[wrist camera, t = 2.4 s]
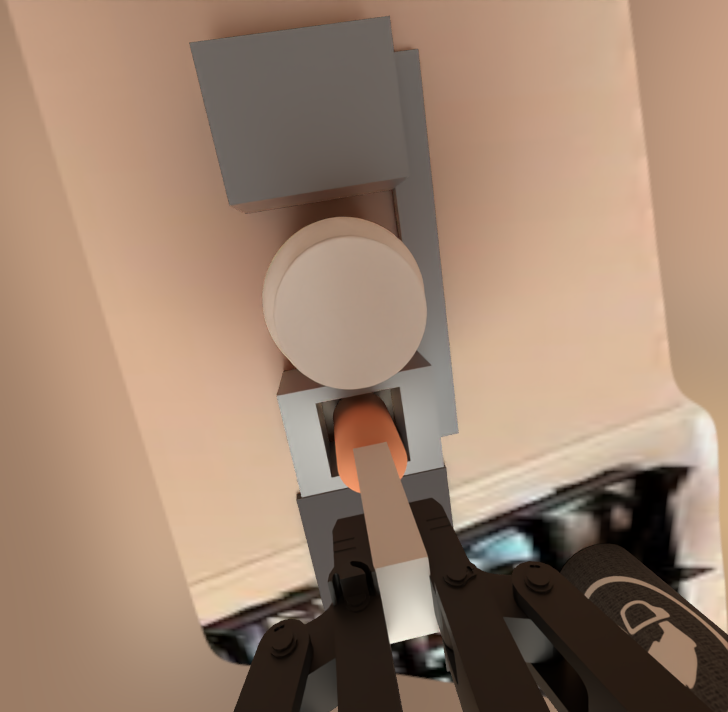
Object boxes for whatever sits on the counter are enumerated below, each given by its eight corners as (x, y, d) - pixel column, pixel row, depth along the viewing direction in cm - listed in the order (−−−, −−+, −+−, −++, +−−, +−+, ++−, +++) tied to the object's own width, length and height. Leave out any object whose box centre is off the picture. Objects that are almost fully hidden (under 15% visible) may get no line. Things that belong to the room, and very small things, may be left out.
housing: (215, 84, 19) (189, 42, 15) (414, 56, 19) (437, 9, 16) (304, 458, 25) (301, 497, 21) (454, 427, 25) (478, 459, 22)
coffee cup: (536, 634, 31) (721, 960, 17) (538, 538, 29) (760, 827, 14) (645, 612, 32) (910, 905, 18) (657, 516, 29) (980, 770, 15)
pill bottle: (331, 357, 23) (342, 449, 13) (257, 280, 22) (198, 310, 11) (409, 288, 23) (491, 323, 12) (340, 203, 21) (363, 156, 10)
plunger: (328, 397, 22) (331, 439, 17) (383, 386, 22) (402, 424, 17) (338, 447, 23) (344, 500, 18) (391, 436, 23) (411, 486, 18)
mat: (296, 495, 25) (296, 499, 25) (443, 463, 26) (446, 467, 26) (325, 610, 28) (326, 616, 28) (457, 579, 29) (459, 584, 28)
